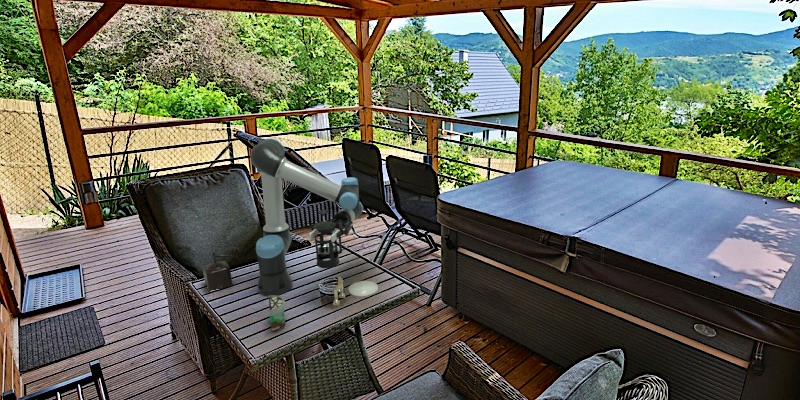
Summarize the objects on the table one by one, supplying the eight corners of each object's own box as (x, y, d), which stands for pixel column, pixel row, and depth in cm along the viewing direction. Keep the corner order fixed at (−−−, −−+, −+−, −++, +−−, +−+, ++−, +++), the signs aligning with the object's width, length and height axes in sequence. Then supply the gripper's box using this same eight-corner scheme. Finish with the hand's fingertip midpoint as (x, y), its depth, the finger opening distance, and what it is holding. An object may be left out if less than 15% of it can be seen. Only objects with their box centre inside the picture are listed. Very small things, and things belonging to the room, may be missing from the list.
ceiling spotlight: (333, 305, 186) (332, 290, 184) (338, 289, 199) (337, 275, 197) (342, 305, 186) (341, 290, 184) (347, 289, 199) (345, 275, 197)
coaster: (346, 297, 192) (346, 295, 192) (350, 282, 205) (350, 281, 205) (377, 296, 192) (377, 295, 192) (379, 281, 204) (378, 280, 204)
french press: (321, 271, 180) (315, 217, 172) (311, 262, 187) (305, 210, 180) (347, 262, 186) (343, 210, 179) (336, 254, 193) (332, 204, 186)
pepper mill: (209, 293, 199) (203, 256, 194) (204, 284, 208) (198, 248, 203) (245, 283, 207) (239, 247, 202) (239, 274, 216) (233, 240, 211)
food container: (289, 331, 170) (286, 308, 167) (272, 334, 168) (268, 311, 165) (287, 314, 181) (284, 292, 178) (271, 317, 179) (268, 295, 176)
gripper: (367, 227, 197) (346, 248, 176) (322, 225, 203) (297, 244, 183) (365, 211, 195) (345, 231, 174) (320, 209, 201) (295, 227, 180)
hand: (321, 238), depth 178 cm, fingers closed on french press, 9 cm apart
